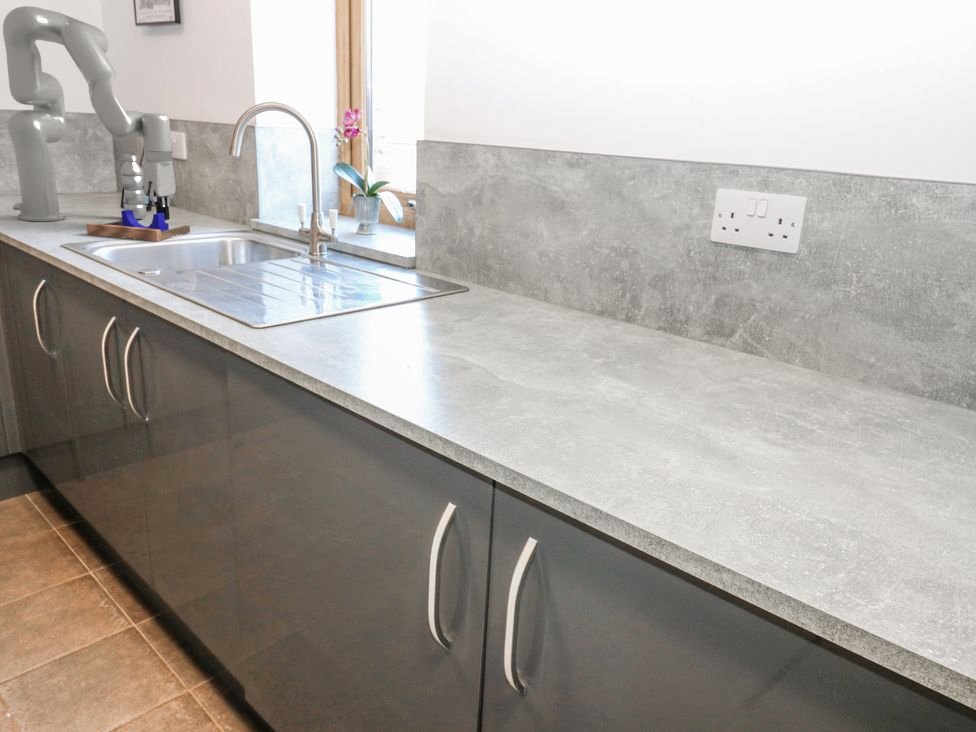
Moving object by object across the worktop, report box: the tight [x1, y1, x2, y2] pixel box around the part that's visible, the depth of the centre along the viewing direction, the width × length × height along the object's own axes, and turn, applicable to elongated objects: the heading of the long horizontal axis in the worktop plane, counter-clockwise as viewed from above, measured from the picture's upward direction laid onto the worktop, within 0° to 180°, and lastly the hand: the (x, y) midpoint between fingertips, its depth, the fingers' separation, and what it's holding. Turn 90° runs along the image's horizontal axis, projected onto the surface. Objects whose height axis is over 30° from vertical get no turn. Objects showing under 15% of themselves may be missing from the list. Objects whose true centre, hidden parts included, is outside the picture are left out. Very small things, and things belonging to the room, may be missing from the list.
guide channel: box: [85, 219, 191, 242], centre depth 214 cm, size 21×17×3 cm
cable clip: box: [120, 209, 170, 231], centre depth 217 cm, size 12×4×6 cm, turn 77°
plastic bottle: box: [120, 153, 148, 221], centre depth 235 cm, size 6×7×20 cm
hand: (163, 219), depth 225 cm, fingers closed
